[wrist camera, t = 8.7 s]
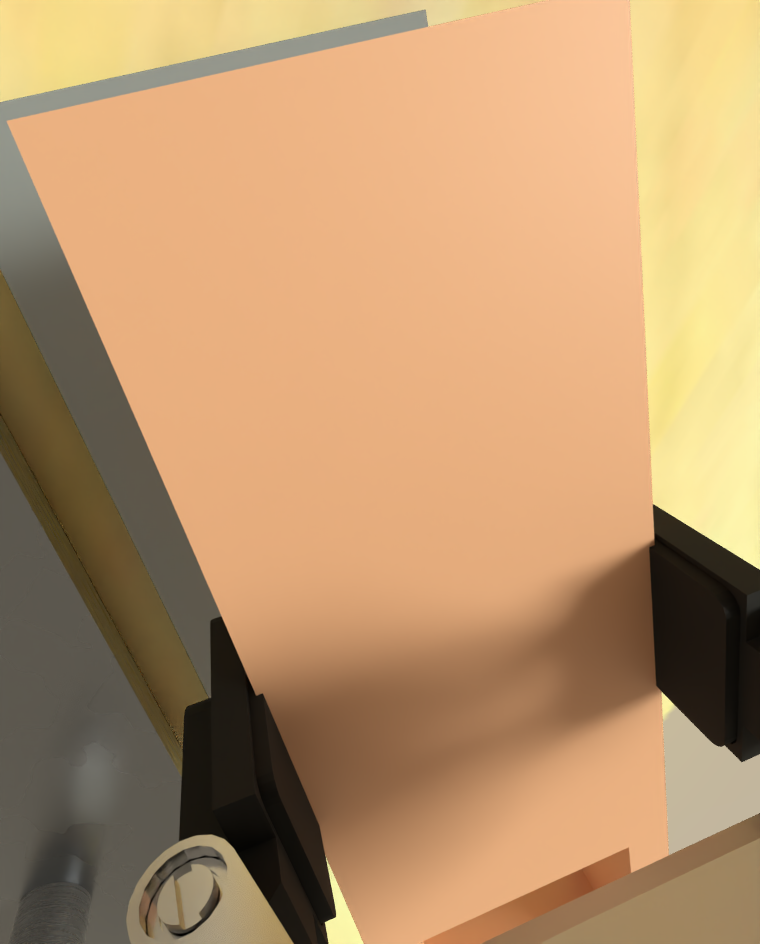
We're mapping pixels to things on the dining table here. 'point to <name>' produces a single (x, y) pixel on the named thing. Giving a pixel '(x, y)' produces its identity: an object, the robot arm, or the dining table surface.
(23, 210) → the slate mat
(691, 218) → the dining table surface
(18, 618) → the pin stand
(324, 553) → the link bar
